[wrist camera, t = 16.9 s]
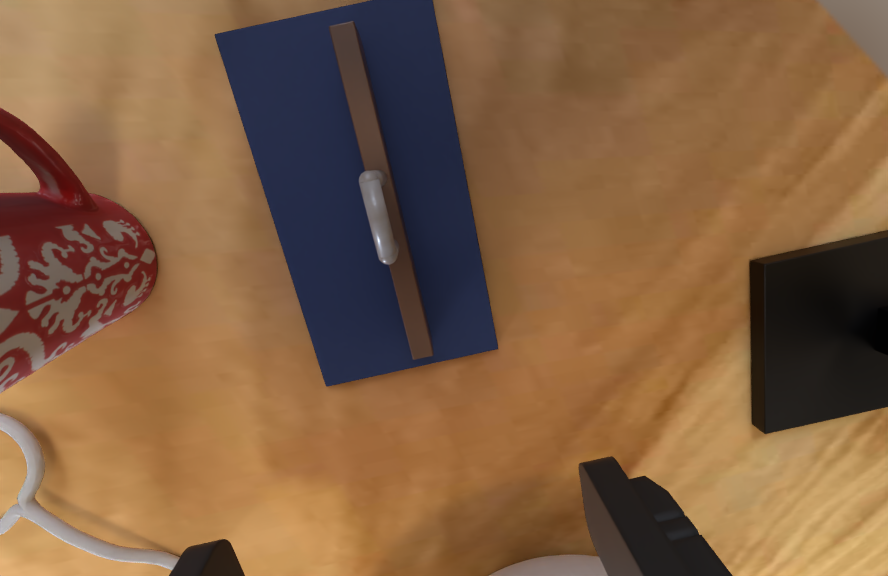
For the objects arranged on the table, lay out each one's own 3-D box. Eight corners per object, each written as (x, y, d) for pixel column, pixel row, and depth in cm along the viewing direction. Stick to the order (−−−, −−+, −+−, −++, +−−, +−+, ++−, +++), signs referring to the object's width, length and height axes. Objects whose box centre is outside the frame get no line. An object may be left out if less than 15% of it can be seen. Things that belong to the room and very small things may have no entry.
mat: (218, 37, 22) (214, 34, 22) (429, -9, 22) (429, -13, 22) (327, 383, 28) (326, 387, 27) (497, 345, 28) (498, 349, 27)
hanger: (337, 40, 22) (297, -23, 15) (360, 35, 22) (332, -31, 15) (413, 343, 27) (412, 410, 19) (432, 339, 27) (438, 404, 19)
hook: (196, 635, 32) (-40, 474, 30) (267, 549, 30) (20, 375, 29) (116, 761, 24) (-199, 556, 23) (203, 656, 23) (-131, 430, 21)
